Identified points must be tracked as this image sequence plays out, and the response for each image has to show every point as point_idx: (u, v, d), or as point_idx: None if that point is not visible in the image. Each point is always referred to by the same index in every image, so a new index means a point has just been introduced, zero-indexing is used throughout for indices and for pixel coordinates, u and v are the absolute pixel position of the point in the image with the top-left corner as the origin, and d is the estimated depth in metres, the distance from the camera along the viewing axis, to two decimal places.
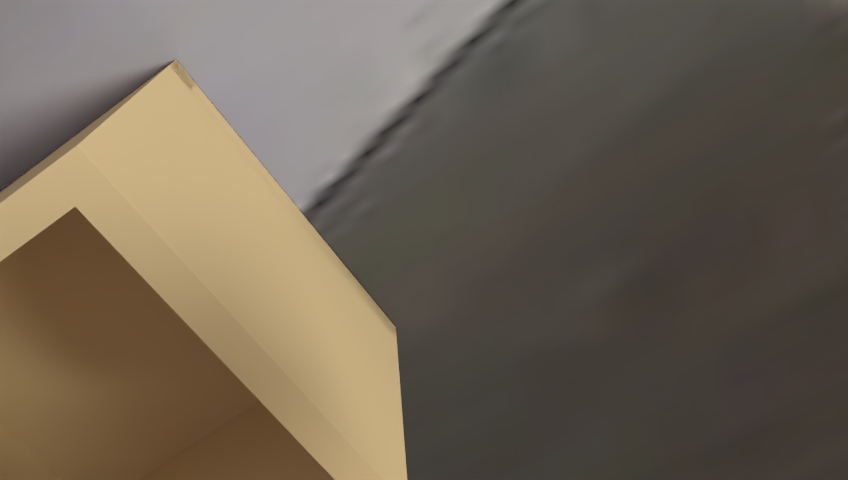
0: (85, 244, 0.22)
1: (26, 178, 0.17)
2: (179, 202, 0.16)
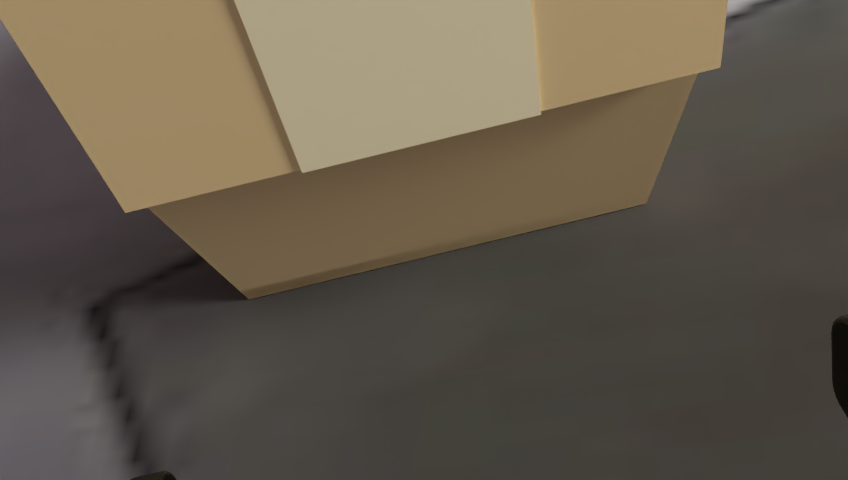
0: None
1: None
2: None
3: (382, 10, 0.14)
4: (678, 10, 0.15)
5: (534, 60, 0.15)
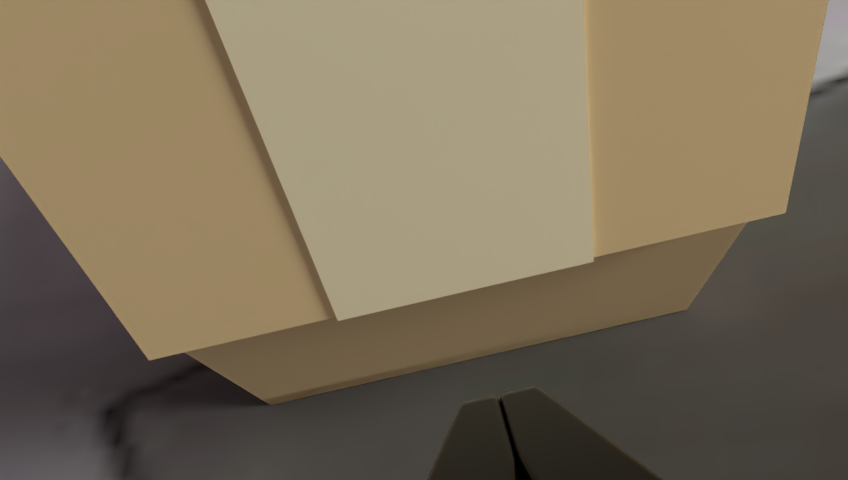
0: None
1: None
2: None
3: (431, 170, 0.13)
4: (745, 161, 0.14)
5: (589, 211, 0.14)
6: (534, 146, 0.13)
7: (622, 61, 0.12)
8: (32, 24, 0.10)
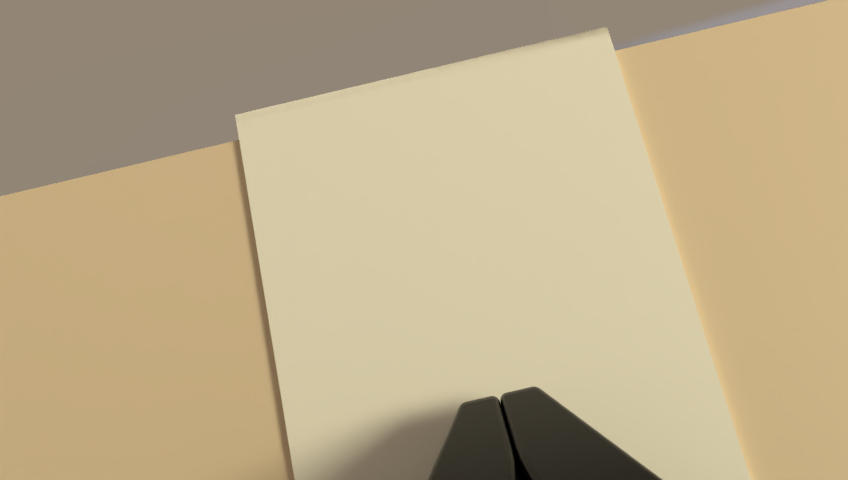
0: None
1: None
2: None
3: None
4: None
5: None
6: None
7: None
8: (102, 431, 0.09)
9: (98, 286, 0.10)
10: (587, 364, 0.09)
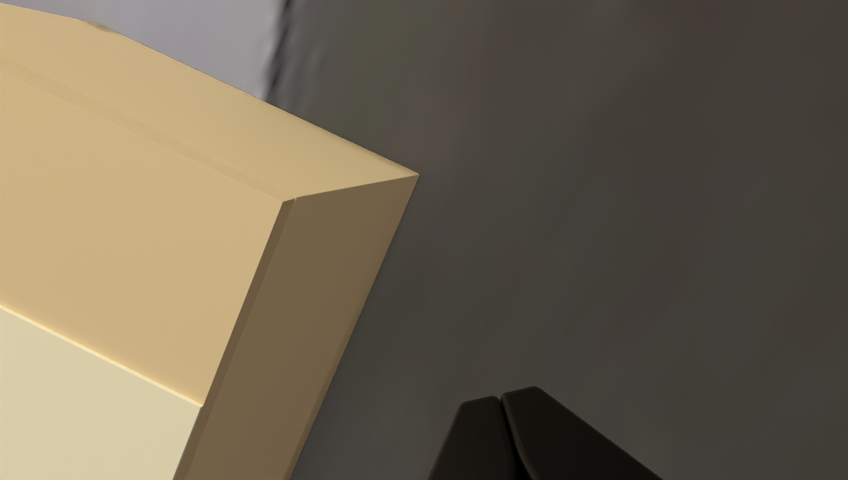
0: None
1: None
2: None
3: None
4: (174, 214, 0.13)
5: (137, 373, 0.13)
6: (21, 372, 0.13)
7: None
8: None
9: None
10: None
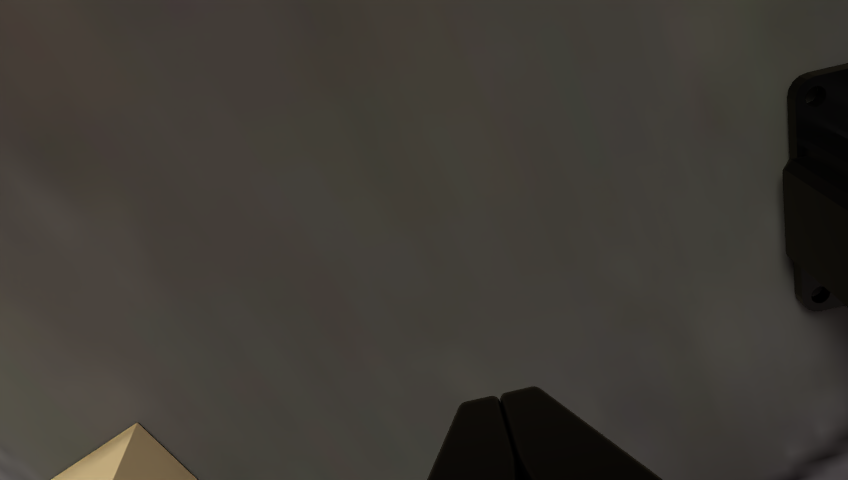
0: None
1: None
2: None
3: None
4: None
5: None
6: None
7: None
8: None
9: None
10: None
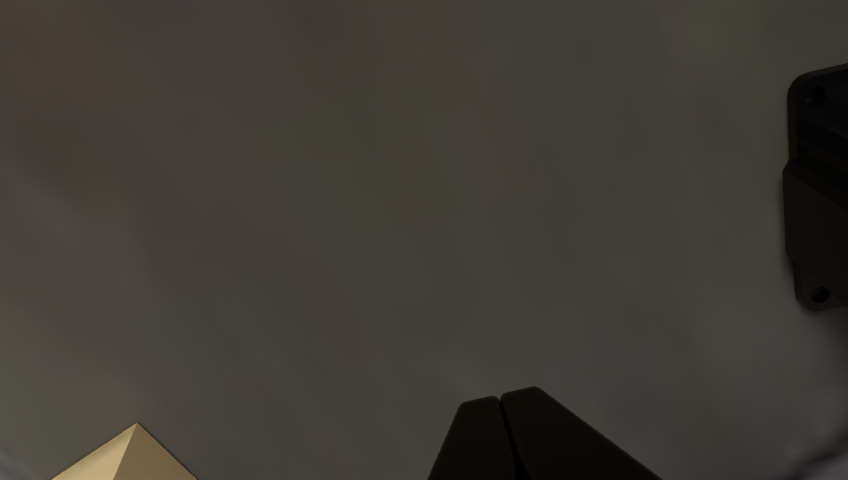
0: None
1: None
2: None
3: None
4: None
5: None
6: None
7: None
8: None
9: None
10: None
